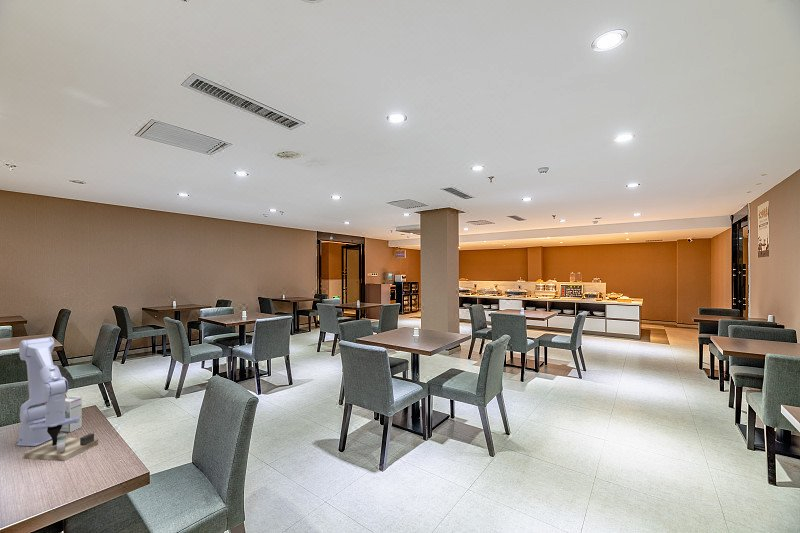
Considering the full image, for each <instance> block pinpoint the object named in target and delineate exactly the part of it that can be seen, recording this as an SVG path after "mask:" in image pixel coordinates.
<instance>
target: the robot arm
mask: <svg viewBox="0 0 800 533" xmlns="http://www.w3.org/2000/svg"><path fill="white" fill-rule="evenodd" d="M55 344H56V343H55V339H54V338H53V337H52V336H47V337H41V338H33V339H23V340H22V339H21V341H20V343H19V345H18V350H19V351H18V352H19V354H18V355H19V358H20V360H21V361H25V364H26V372H27V385H28V386H27V387H28V396H29V397H28V398H29V399H27V400H26V401H25V402H24V403H23V404H21V406H20V408H19V410H20V411H19V420H20V423H21V424H20V426H19V427H18V443H16V444H15V445H16V446H24V447H25V446H26V447H38V446H39V445H41V444H42V445H43V444H44V443H47V442H50V441H53V442H52V446H54V445H57V436H58V435H59V433H60V432H59V431H60V430H61V428H62V426H63V425H66V424H71V423H79V421H80V417H72V418H65V393H66V394H67V393H68V390H69V382H68V380H67V378H65V376H63V375H62V374H61V371H60V368H59V366H58V365H55V364H54V362H53V357H52V353H53V351H54V348H55ZM41 403H45V404H41Z"/></svg>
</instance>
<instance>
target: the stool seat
mask: <svg viewBox="0 0 800 533" xmlns="http://www.w3.org/2000/svg"><path fill="white" fill-rule="evenodd" d="M52 442H53V440H50V441H47V442H45V444H44V443H43V444H42V445H41V444H40V446H39V445H38V446H36V447H35V448H32V449H30V450H28V451H26V452H24V453H23V459H29V460H46V461H47V460H48V461H63V462H65V461H67V460H70V459H71V458H73V457H75V456H77V455H79V454H81V453H83V452H85V451H87V450H89V449H91V448H93V447H96V446H97V445H99V439H98V438H95V433H87V434H86V435H84V436H81V437H67V436H65V451H64V452H61V453H57V445H54V446H52Z"/></svg>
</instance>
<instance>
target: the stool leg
mask: <svg viewBox="0 0 800 533" xmlns="http://www.w3.org/2000/svg"><path fill="white" fill-rule="evenodd" d="M65 437H66V433H60V434H58V436H57V453H61V452H64V451H65Z"/></svg>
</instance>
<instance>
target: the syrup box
mask: <svg viewBox="0 0 800 533" xmlns="http://www.w3.org/2000/svg"><path fill="white" fill-rule="evenodd" d="M82 402H83V401H82V396H68V397H67V398H65V418H72V417H80V421H79V423H71V424H66V425H63V426H62V428H61V430H60V431H59V433H72V432H74V430H75V431H77V430H78V428H79V429H81V428H83V426H82V425H83V423H82V422H83V421H82V420H83V419H82V418H83V417H82V415H83V414H82V411H83V410H82V407H83V406H82V404H83V403H82ZM80 427H81V428H80ZM76 429H77V430H76Z"/></svg>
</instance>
